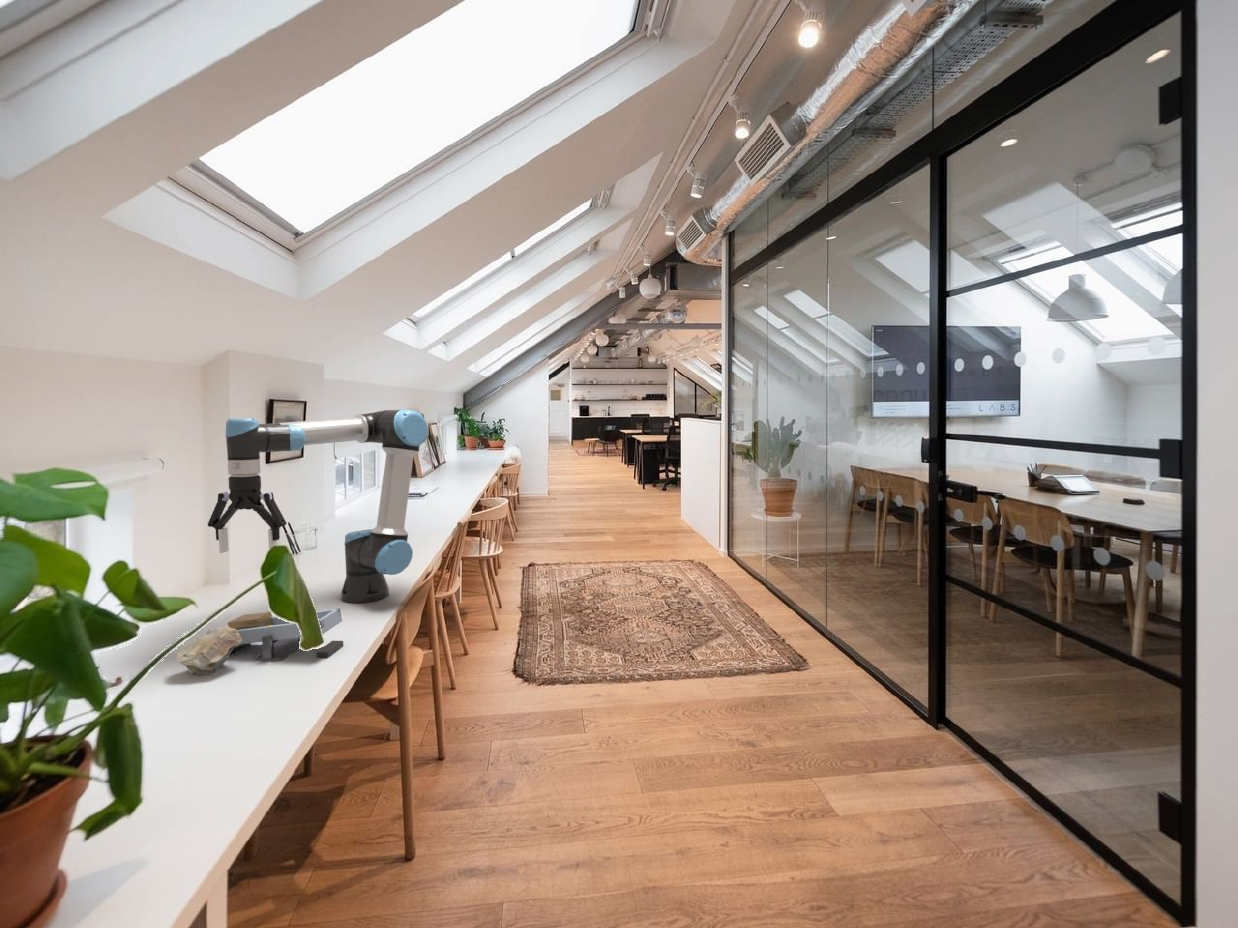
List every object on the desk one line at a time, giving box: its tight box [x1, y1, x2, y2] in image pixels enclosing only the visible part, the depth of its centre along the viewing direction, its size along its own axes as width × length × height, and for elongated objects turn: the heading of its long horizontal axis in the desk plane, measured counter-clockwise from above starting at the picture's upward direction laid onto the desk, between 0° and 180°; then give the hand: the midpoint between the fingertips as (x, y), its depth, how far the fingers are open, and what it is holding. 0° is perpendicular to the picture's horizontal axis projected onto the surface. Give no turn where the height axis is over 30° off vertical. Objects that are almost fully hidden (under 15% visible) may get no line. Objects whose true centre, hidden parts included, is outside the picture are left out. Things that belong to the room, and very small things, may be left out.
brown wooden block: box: [227, 611, 273, 630], centre depth 165 cm, size 6×8×4 cm
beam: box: [237, 608, 343, 644], centre depth 164 cm, size 12×28×4 cm, turn 87°
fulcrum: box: [229, 636, 344, 662], centre depth 164 cm, size 14×29×6 cm, turn 87°
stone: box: [175, 625, 243, 675], centre depth 151 cm, size 11×14×10 cm
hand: (248, 552), depth 169 cm, fingers open, 13 cm apart
